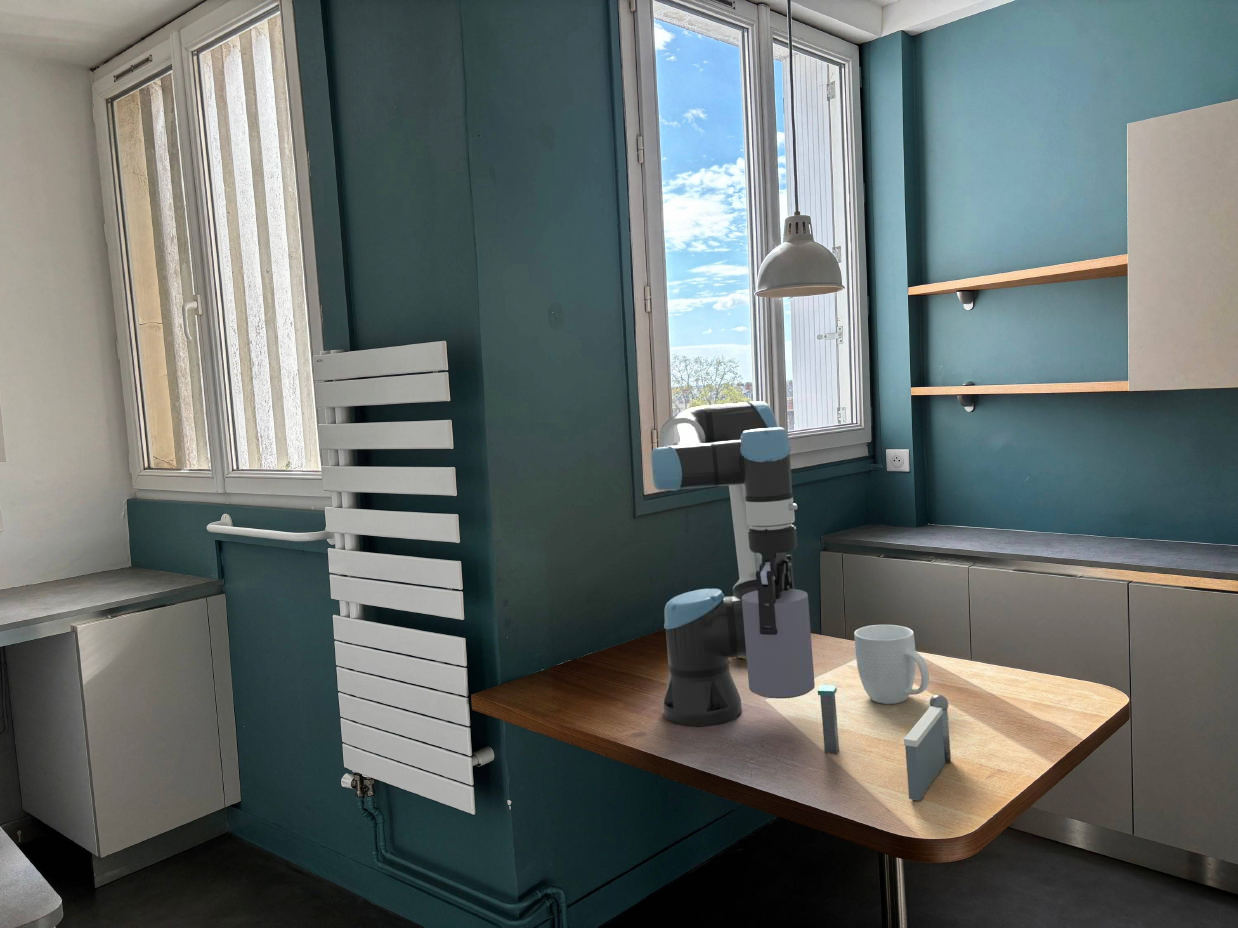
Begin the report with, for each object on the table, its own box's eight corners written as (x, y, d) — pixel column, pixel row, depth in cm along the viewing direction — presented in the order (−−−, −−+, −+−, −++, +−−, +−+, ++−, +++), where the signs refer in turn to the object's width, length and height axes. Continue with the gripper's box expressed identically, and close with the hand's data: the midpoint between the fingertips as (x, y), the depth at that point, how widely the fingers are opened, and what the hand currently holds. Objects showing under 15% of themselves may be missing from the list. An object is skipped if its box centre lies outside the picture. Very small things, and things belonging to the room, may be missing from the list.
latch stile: (822, 753, 144) (817, 690, 144) (825, 747, 147) (820, 685, 146) (838, 754, 143) (833, 691, 142) (841, 748, 146) (836, 685, 145)
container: (742, 698, 135) (734, 603, 134) (756, 676, 144) (749, 588, 143) (809, 701, 131) (802, 603, 130) (819, 678, 141) (812, 588, 139)
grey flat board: (934, 760, 137) (930, 706, 136) (946, 762, 136) (942, 707, 135) (908, 798, 125) (903, 738, 125) (920, 800, 124) (916, 740, 124)
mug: (948, 702, 162) (943, 633, 161) (910, 718, 156) (905, 647, 155) (884, 684, 174) (879, 621, 173) (846, 698, 168) (841, 633, 167)
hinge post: (932, 763, 137) (928, 697, 136) (934, 756, 139) (929, 691, 139) (951, 764, 136) (947, 698, 135) (952, 757, 138) (948, 692, 137)
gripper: (779, 536, 127) (791, 689, 128) (808, 515, 144) (819, 650, 146) (730, 536, 130) (742, 686, 131) (764, 516, 148) (775, 648, 149)
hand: (782, 667), depth 139 cm, fingers closed on container, 7 cm apart
